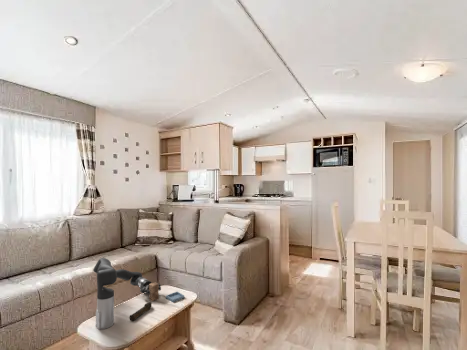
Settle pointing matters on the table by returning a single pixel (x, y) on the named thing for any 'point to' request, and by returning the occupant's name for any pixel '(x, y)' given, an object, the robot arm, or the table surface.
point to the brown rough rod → (140, 311)
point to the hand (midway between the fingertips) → (154, 290)
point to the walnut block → (154, 291)
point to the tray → (175, 296)
